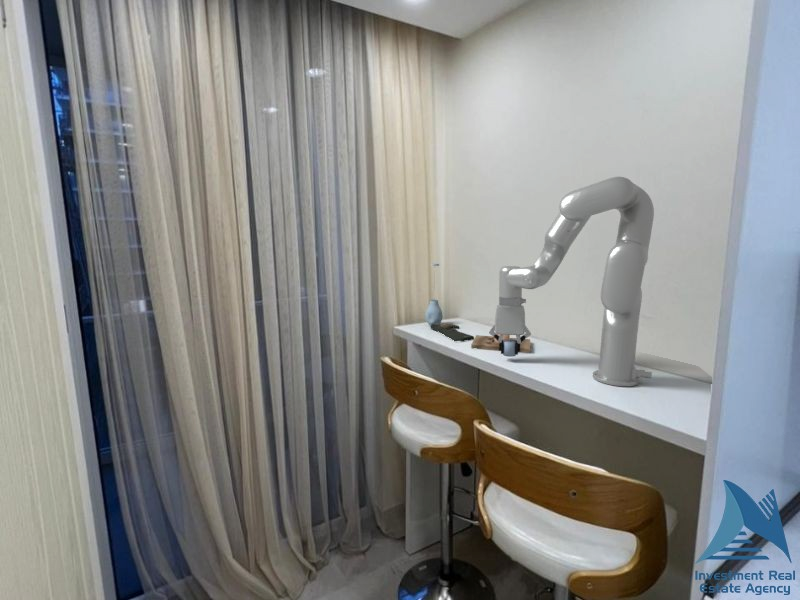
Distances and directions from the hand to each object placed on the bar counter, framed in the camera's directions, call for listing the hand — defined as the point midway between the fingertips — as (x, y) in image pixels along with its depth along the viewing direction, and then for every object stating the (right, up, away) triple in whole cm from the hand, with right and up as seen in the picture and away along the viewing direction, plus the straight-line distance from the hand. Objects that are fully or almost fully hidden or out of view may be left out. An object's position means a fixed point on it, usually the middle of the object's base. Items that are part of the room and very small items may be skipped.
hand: (509, 352), depth 146 cm
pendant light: (-22, +6, +57) cm, 61 cm away
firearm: (-14, +3, +41) cm, 43 cm away
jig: (+2, 0, +21) cm, 21 cm away
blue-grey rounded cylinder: (0, -1, 0) cm, 1 cm away
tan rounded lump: (+2, 0, +21) cm, 21 cm away
